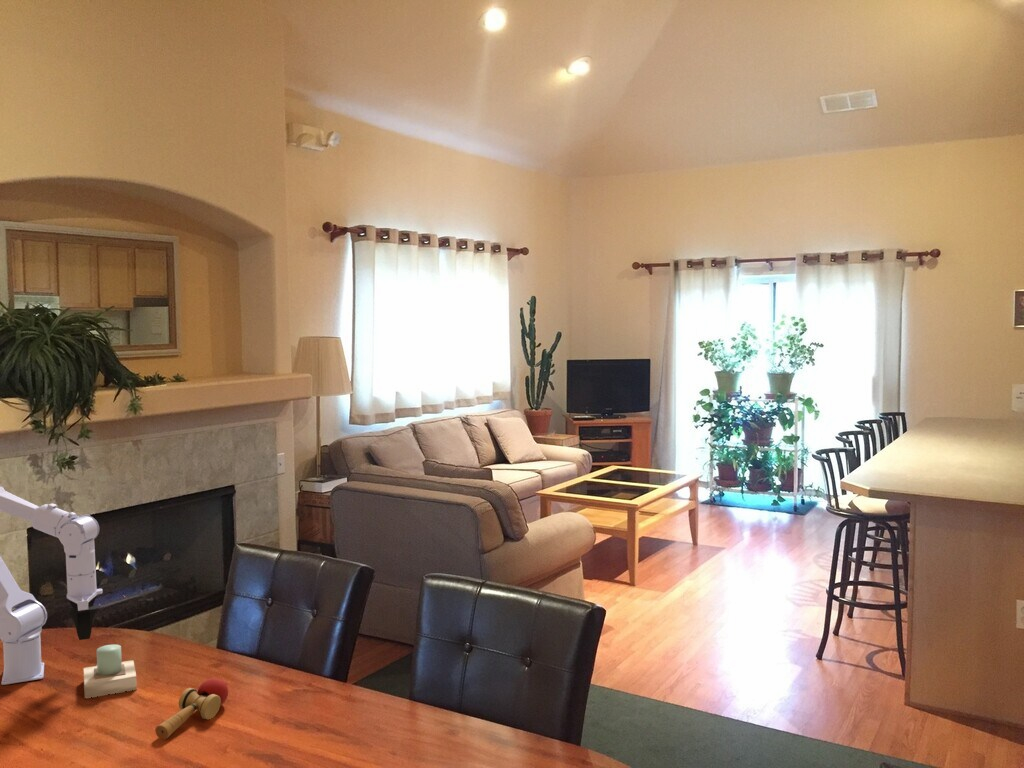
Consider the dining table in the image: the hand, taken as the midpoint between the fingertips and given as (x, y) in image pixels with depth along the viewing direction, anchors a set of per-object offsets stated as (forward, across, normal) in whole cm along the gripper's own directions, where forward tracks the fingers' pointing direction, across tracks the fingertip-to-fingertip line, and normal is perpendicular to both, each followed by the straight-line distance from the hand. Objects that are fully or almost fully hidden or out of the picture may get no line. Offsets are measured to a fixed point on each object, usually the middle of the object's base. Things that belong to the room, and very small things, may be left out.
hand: (84, 633), depth 192 cm
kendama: (+11, -31, -19) cm, 38 cm away
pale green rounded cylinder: (+7, -6, -4) cm, 10 cm away
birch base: (+10, -6, -4) cm, 13 cm away
